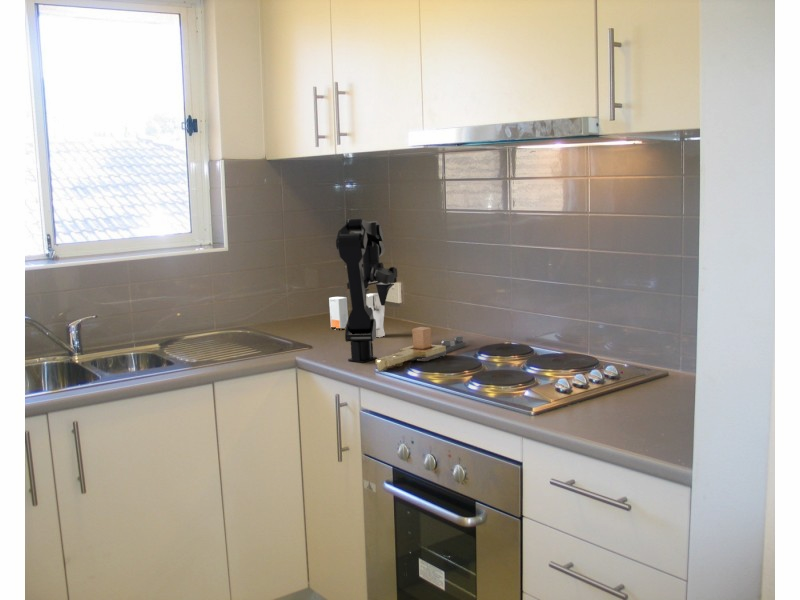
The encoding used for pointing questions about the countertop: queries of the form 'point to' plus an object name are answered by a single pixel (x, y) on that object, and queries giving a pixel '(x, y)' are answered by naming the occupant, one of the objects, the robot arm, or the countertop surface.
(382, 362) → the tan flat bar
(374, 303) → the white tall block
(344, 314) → the skincare box
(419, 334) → the reddish tan block
